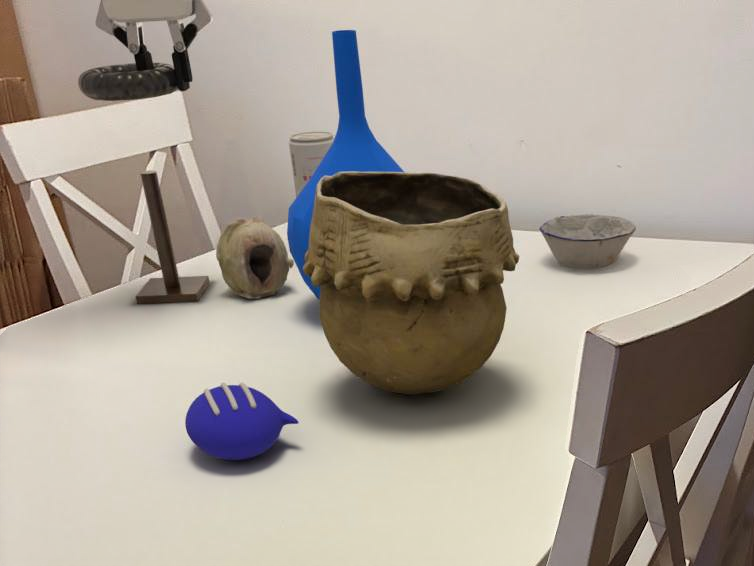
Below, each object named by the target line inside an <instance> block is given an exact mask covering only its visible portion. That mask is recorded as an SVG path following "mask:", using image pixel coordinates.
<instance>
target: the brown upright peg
mask: <svg viewBox="0 0 754 566" xmlns="http://www.w3.org/2000/svg"><path fill="white" fill-rule="evenodd" d="M139 174H140V179H141V184H142V189H143V193H144V197H145V202H146V206H147V211H148V215H149V221H150V224H151V227H152V228H151V230H152V234H153V238H154V243H155V248H156V252H157V257H158V261H159V265H160V271H161V274H162V277H150V278H149V279H148V280H147V282H146V283H145V284H144V285H143V286H142V288H141V289H140V290H139V291H138V293H137V294H136V295H135V301H136V304H137V305H141V304H143V305H144V304H146V305H147V304H168V303H169V304H170V303H191V302H192V303H193V302H199V300H200V299H201V297H202V296H203V294H204V292H205V291H206V289H207V288H208V287H209V285H210V283H211V282H210V277H209V275H193V276H192V275H191V276H179V272H178V267H177V262H176V257H175V252H174V248H173V244H172V238H171V234H170V229H169V226H168V225H169V224H168V220H167V215H166V210H165V205H164V200H163V196H162V191H161V186H160V182H159V176H158V172H157V170H144V171H141V172H140V173H139Z"/></svg>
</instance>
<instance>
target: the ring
mask: <svg viewBox="0 0 754 566" xmlns="http://www.w3.org/2000/svg"><path fill="white" fill-rule="evenodd" d="M153 66H154V69H149V70H142V71H137V68H136V63H135V62H131V63H121V64H120V63H119V64H111V65H103V66H99V67H93V68H90V69H87V70H85V71H83V72H82V73H81V74H80V75H79V77H78V79H77V85H78V88H79V90H80V92H81V93H82V94H83V95H84V96H86V97H87V98H89V99H92V100H94V101H106V102H107V101H108V102H120V101H136V100H142V99H143V100H144V99H152V98H153V99H154V98H157V97H162V96H166V95H171V94H173V93H175V92H177V91H179V90H178V86H177V81H176V76H175V71H174V65H173V64H169V63H167V62H153Z"/></svg>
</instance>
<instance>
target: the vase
mask: <svg viewBox="0 0 754 566" xmlns="http://www.w3.org/2000/svg"><path fill="white" fill-rule="evenodd" d="M331 36H332V37H331V38H332V50H333V52H332V53H333V62H334V74H335V75H334V76H335V86H336V87H335V89H336V90H335V91H336V98H337V107H338V117H339V118H338V123H337V130H336V133H335V135H334V137H333V138H334V141H333V143H332V145H331V147H330V148H329V150H328V151H327V153H326V155H325V156H324V158H323V159H322V161H321V163H320V164H319V166H318V167H317V169H316V171H315V172H314V174H313V175H312V177H311V178H310V180H309V181H308V182H307V184H306V185H305V187H304V188H303V189H302V191H301V192H300V193H299V195H298V196H297V197H296V196H295V199H294V200H293V201H292V203H291V204H290V206H289V207H288V212H287V227H286V228H287V229H286V236H287V241H288V248H289V253H290V255H291V257H292V260H293V261H294V264H295V265H296V268H297V270H298V272H299V274H300V276H301V278H302V281H303V282H304V284H305V285H306V286H307V288H309V290H310V291H311V293H313V295H314V296H315V297H316V298H317V300H318V301H319V302H320V290H321V286H317V287H315V286H314V285H313V284H312V281H311V277H310V276H308V275H305V273H304V271H303V266H304V265H305V264H306V262H305V260H304V259H305V254H306V252H307V251H308V250H309V235H310V227H311V221H312V217H313V209H314V200H315V194H316V187H317V184H318V182H319V181H320V179H321V178H322V177H324V176H325V175H327V176H333V175H334V174H336V173H338V172H348V171H356V172H405V171H404V170H403V168H402V167H401V166H400V165H399V164H398V163H397V161H396V160H395V159H394V158H393V157H392V155H390V153H388V151H387V150H386V149H385V148H384V147H383V146H382V145H381V143H380V142H378V140H377V139H376V137H375V136H374V133H373V132H372V130H371V128H370V126H369V123H368V120H367V117H366V111H365V100H364V99H365V98H364V89H363V79H362V72H361V62H360V56H359V55H360V54H359V46H358V37H357V31H356V30H355V29H339V30H333V31H331Z"/></svg>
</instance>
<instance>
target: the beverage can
mask: <svg viewBox="0 0 754 566" xmlns="http://www.w3.org/2000/svg"><path fill="white" fill-rule="evenodd" d="M334 138H335V137H334V133H333V132H330V131H323V130H322V131H321V130H320V131H319V130H318V131H313V130H312V131H303V132H297V133H293V134H290V135H289V142H288V144H289V145H288V146H289V154H290V160H291V168H292V176H293V183H294V191H295V198H296V197H297V196H298V195H299V193H300V192H301V191H302V189H303V188H304V187H305V185H306V184H307V182H308V181H309V180H310V178H311V177H312V175H313V174H314V172H315V171H316V169H317V167H318V166H319V164H320V163H321V161H322V159H323V158H324V156H325V155H326V153H327V151H328V150H329V148H330V147H331V145H332V143H333V141H334Z"/></svg>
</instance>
